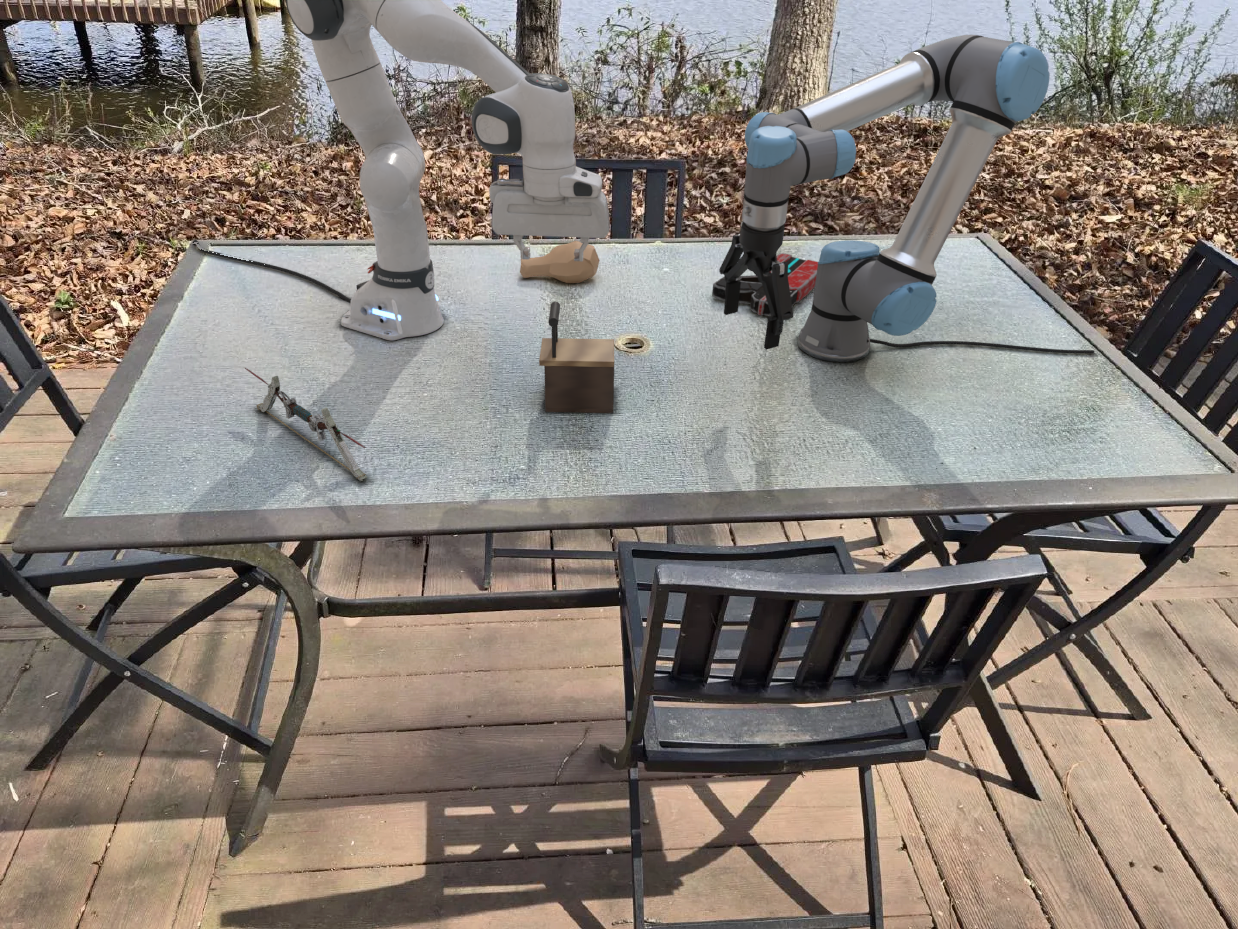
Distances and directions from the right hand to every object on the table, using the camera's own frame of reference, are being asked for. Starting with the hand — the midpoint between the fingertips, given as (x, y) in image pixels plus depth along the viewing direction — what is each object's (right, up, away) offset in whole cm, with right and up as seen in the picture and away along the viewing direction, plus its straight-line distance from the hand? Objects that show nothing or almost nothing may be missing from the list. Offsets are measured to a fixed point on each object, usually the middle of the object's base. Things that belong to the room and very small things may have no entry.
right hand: (750, 329), depth 164 cm
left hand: (-36, +11, -9) cm, 39 cm away
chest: (-32, -13, +5) cm, 35 cm away
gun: (+13, +18, +52) cm, 57 cm away
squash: (-39, +21, +56) cm, 72 cm away
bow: (-79, -21, -10) cm, 82 cm away
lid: (-32, -5, 0) cm, 33 cm away
